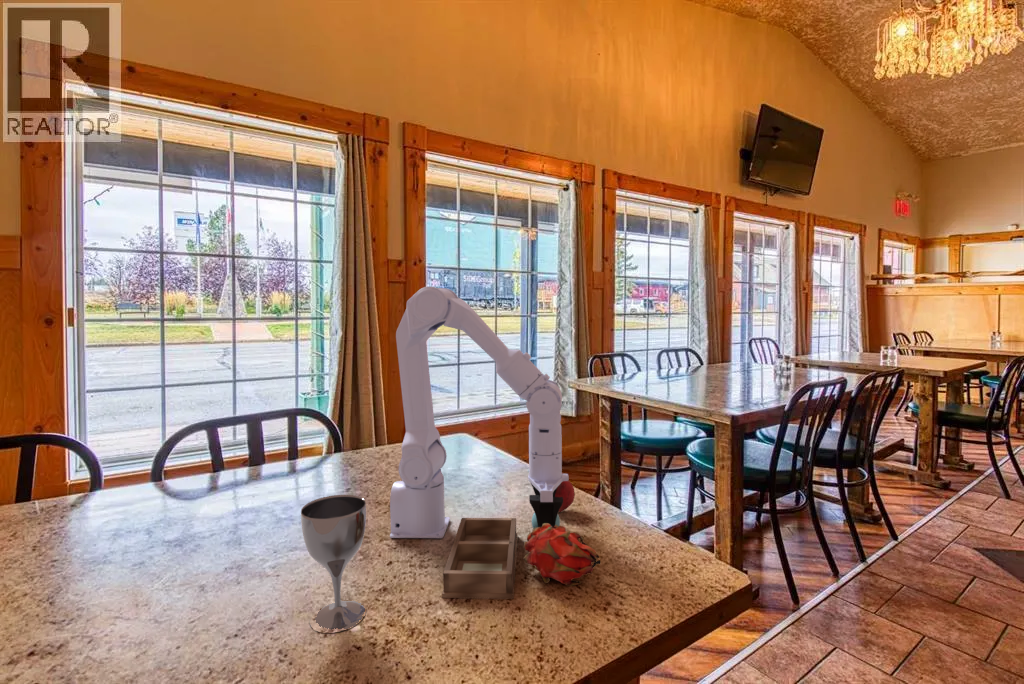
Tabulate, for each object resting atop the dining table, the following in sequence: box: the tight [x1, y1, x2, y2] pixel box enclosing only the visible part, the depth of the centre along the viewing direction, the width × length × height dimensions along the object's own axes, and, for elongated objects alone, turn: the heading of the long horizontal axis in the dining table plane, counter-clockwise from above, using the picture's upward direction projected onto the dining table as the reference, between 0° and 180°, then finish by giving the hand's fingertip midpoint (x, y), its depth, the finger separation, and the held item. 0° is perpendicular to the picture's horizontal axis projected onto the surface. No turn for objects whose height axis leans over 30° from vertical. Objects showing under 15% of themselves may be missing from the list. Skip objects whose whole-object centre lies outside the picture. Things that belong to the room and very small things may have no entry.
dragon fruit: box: [522, 523, 601, 587], centre depth 76 cm, size 8×8×12 cm
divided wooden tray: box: [441, 517, 519, 600], centre depth 80 cm, size 10×19×3 cm, turn 177°
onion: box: [555, 472, 576, 513], centre depth 99 cm, size 6×6×8 cm
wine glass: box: [300, 494, 367, 630], centre depth 66 cm, size 8×8×15 cm
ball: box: [531, 512, 561, 530], centre depth 90 cm, size 5×5×5 cm
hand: (545, 526), depth 90 cm, fingers open, 7 cm apart
